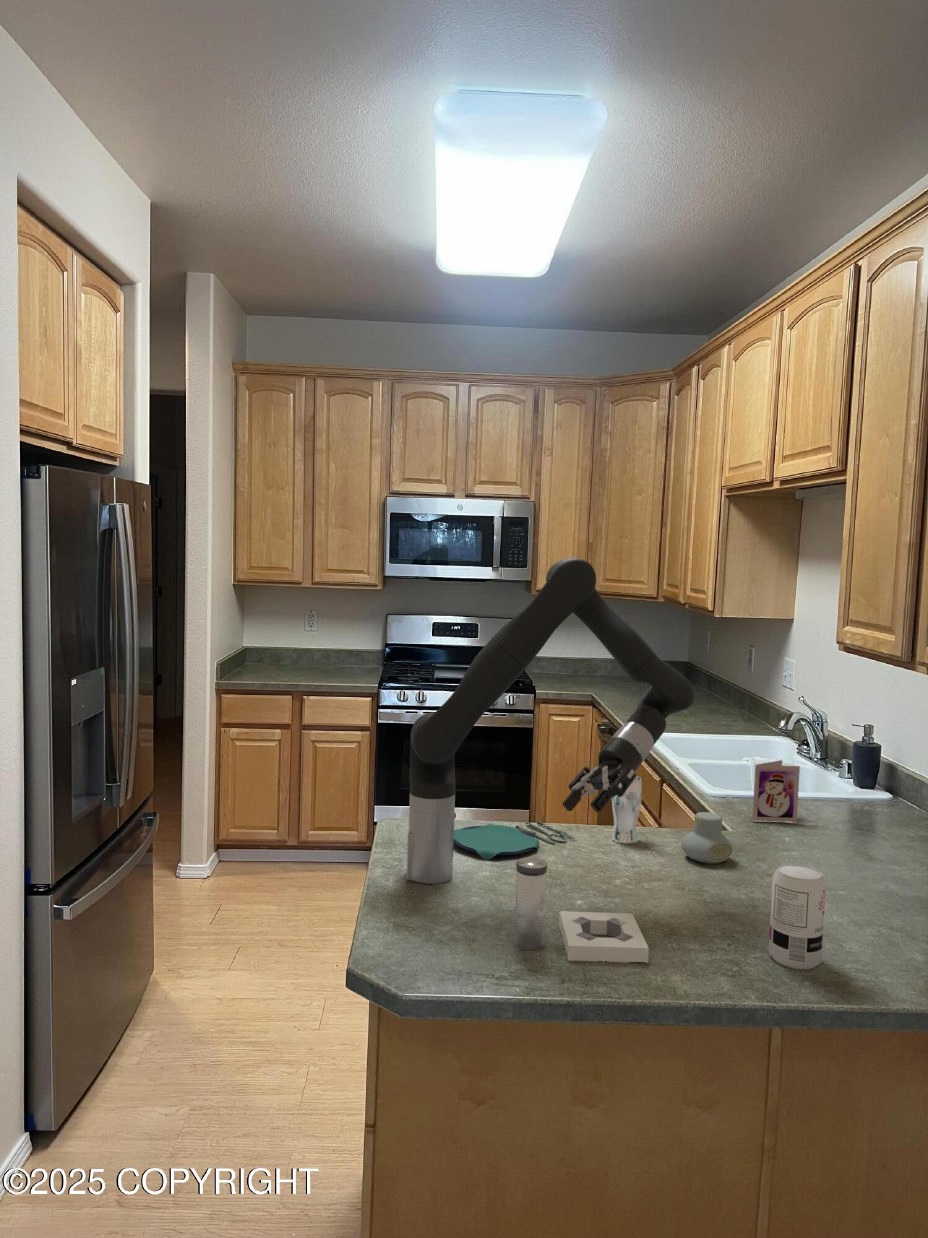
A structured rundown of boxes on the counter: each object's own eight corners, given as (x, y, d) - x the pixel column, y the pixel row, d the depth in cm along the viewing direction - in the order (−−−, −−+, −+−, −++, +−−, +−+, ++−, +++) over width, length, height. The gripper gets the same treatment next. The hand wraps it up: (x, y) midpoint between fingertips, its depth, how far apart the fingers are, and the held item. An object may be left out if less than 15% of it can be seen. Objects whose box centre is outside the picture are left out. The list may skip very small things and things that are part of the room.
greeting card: (753, 823, 222) (756, 765, 221) (743, 814, 229) (746, 759, 228) (797, 824, 222) (801, 767, 221) (786, 816, 229) (790, 760, 228)
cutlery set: (433, 839, 200) (434, 830, 200) (535, 824, 217) (536, 815, 217) (482, 867, 184) (483, 856, 184) (588, 848, 200) (589, 838, 200)
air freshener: (712, 851, 199) (714, 808, 198) (738, 862, 191) (740, 818, 191) (674, 856, 194) (676, 812, 193) (699, 868, 186) (701, 823, 186)
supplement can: (760, 949, 147) (764, 863, 146) (806, 949, 148) (811, 863, 147) (781, 971, 139) (786, 880, 138) (830, 971, 140) (836, 880, 139)
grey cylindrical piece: (514, 949, 144) (517, 867, 143) (512, 936, 149) (515, 857, 148) (545, 950, 144) (548, 868, 143) (542, 937, 149) (545, 857, 148)
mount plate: (568, 960, 141) (568, 945, 140) (558, 925, 155) (559, 911, 154) (648, 963, 141) (648, 948, 140) (631, 927, 155) (632, 913, 154)
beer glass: (639, 846, 200) (642, 782, 199) (609, 843, 202) (611, 779, 201) (639, 837, 207) (642, 775, 206) (610, 834, 209) (612, 773, 208)
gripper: (592, 737, 175) (546, 793, 167) (640, 733, 163) (592, 793, 155) (613, 765, 176) (568, 822, 168) (662, 763, 164) (615, 824, 156)
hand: (579, 808), depth 161 cm, fingers open, 8 cm apart
